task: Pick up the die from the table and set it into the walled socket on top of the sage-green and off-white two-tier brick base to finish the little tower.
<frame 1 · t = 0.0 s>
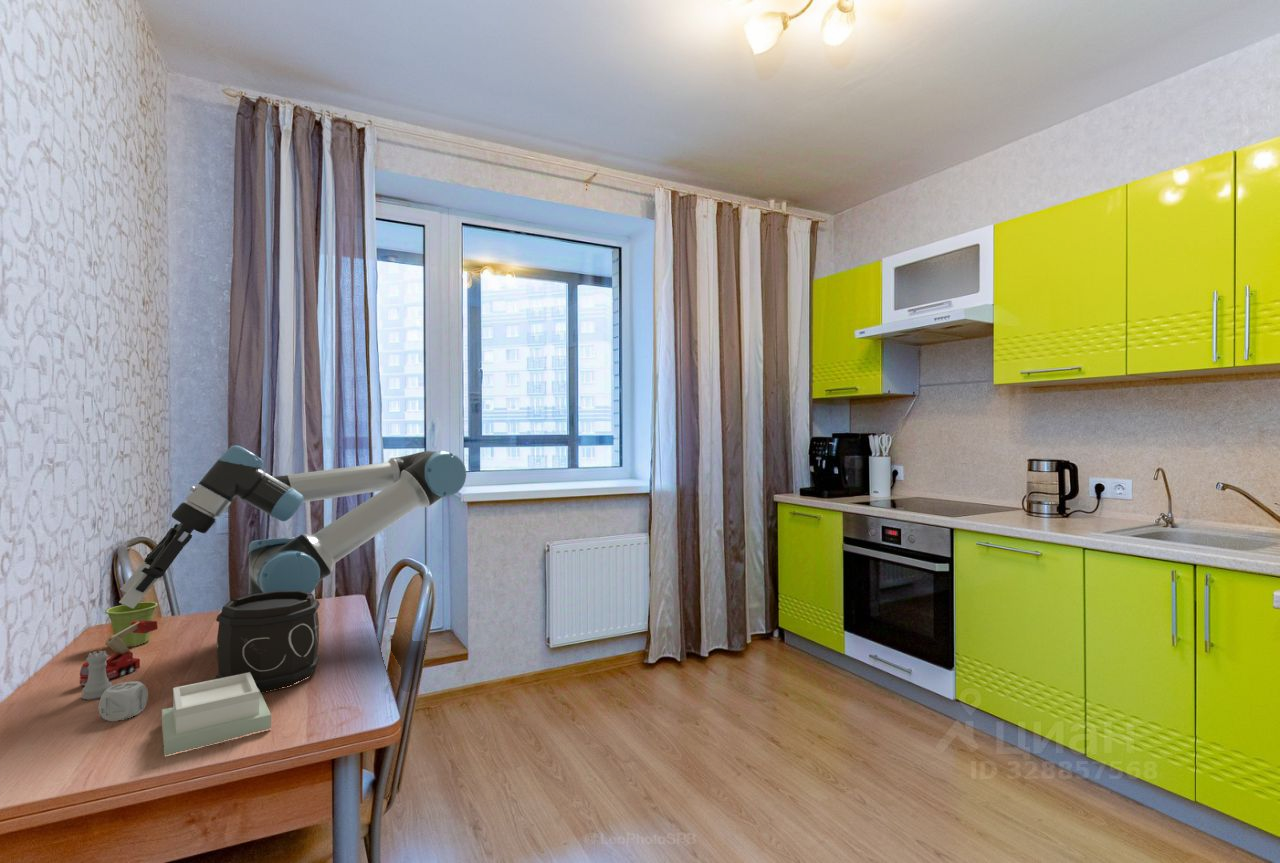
hand: (126, 598, 129), 15 cm above the table, tool tilted 35°, fingers open, 13 cm apart
die: (123, 716, 109), on the table
black bucket: (272, 678, 126), on the table
rook chess piece: (97, 696, 118), on the table
toy fire truck: (119, 675, 128), on the table
tower base: (215, 730, 104), on the table
plant pot: (132, 645, 148), on the table
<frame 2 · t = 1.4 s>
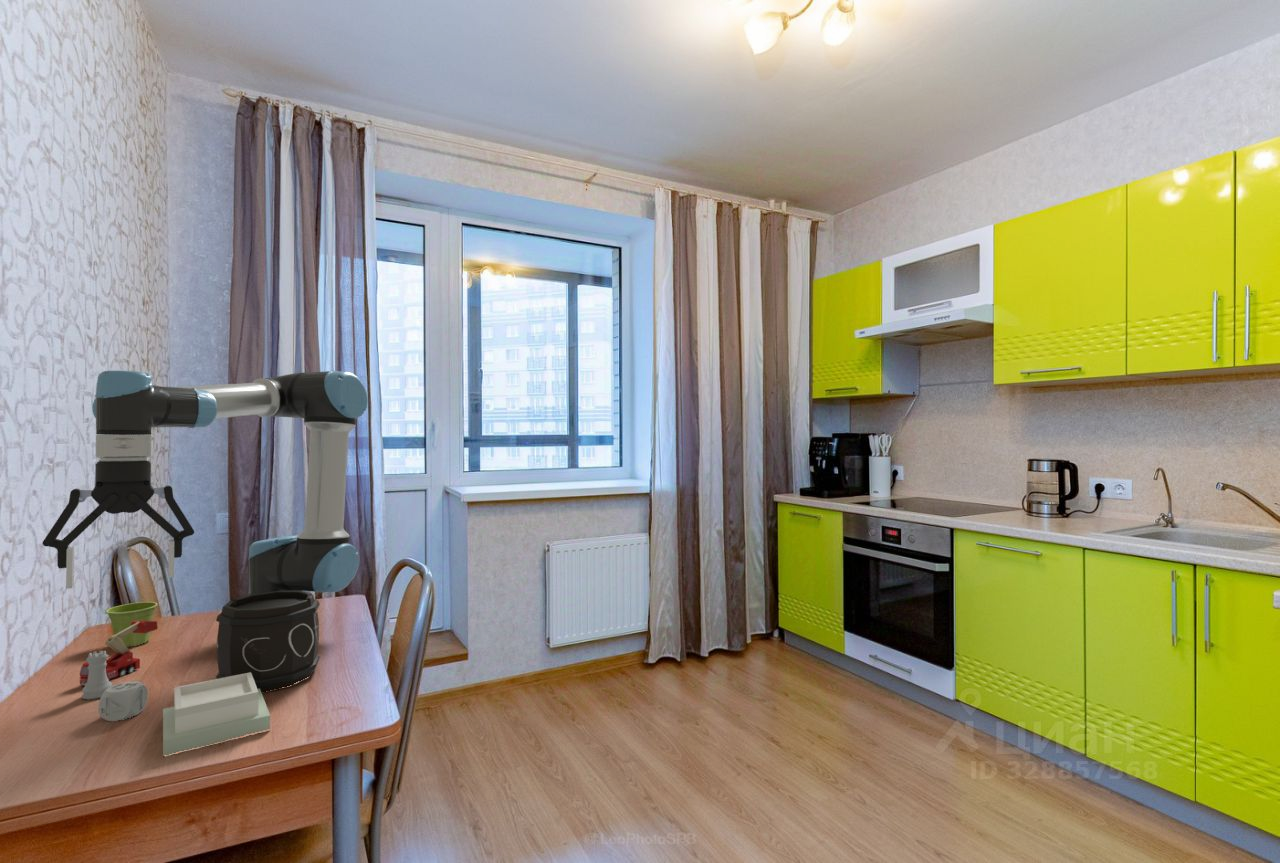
hand: (122, 581, 110), 23 cm above the table, tool pointing down, fingers open, 13 cm apart
nothing on the table moved.
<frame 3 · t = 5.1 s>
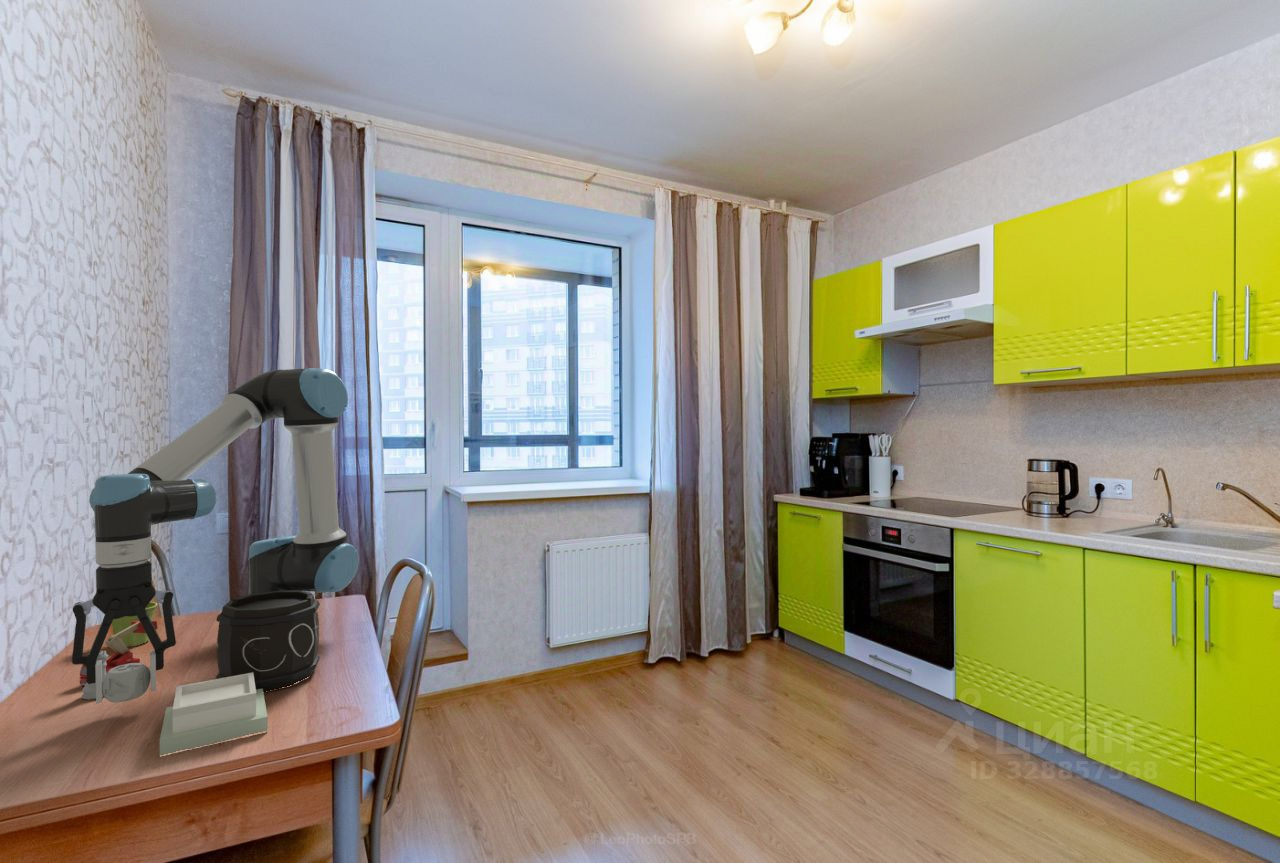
hand: (127, 694, 110), 3 cm above the table, tool pointing down, fingers closed on die, 7 cm apart
die: (127, 697, 110), point 3 cm above the table, touching gripper
everything else where it was.
when the fingers open (7 cm above the table, at t = 10.5 s): die drops 2 cm, resting on tower base.
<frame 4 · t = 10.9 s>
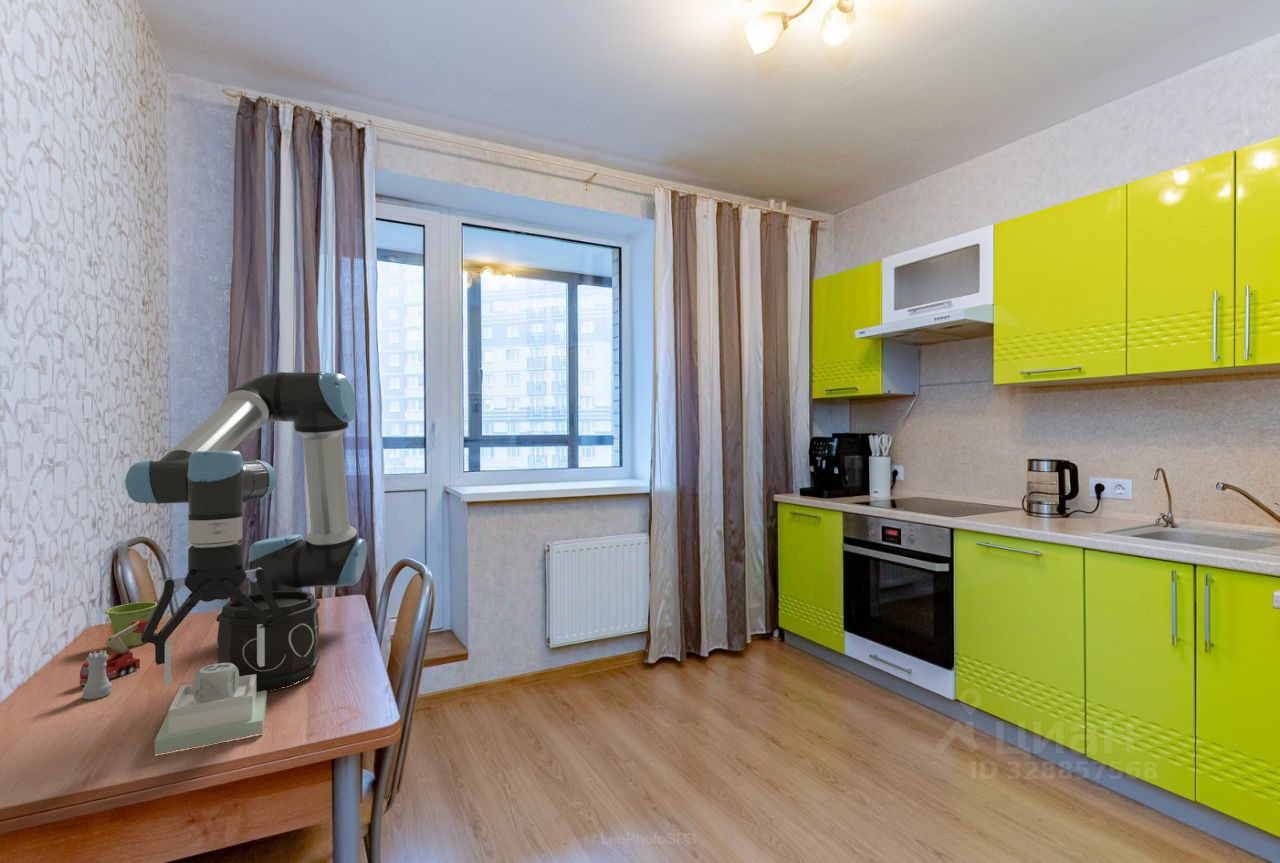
hand: (215, 673, 105), 9 cm above the table, tool pointing down, fingers open, 12 cm apart
die: (216, 699, 104), point 5 cm above the table, touching tower base
tower base: (215, 731, 104), on the table, touching die
everything else where it was.
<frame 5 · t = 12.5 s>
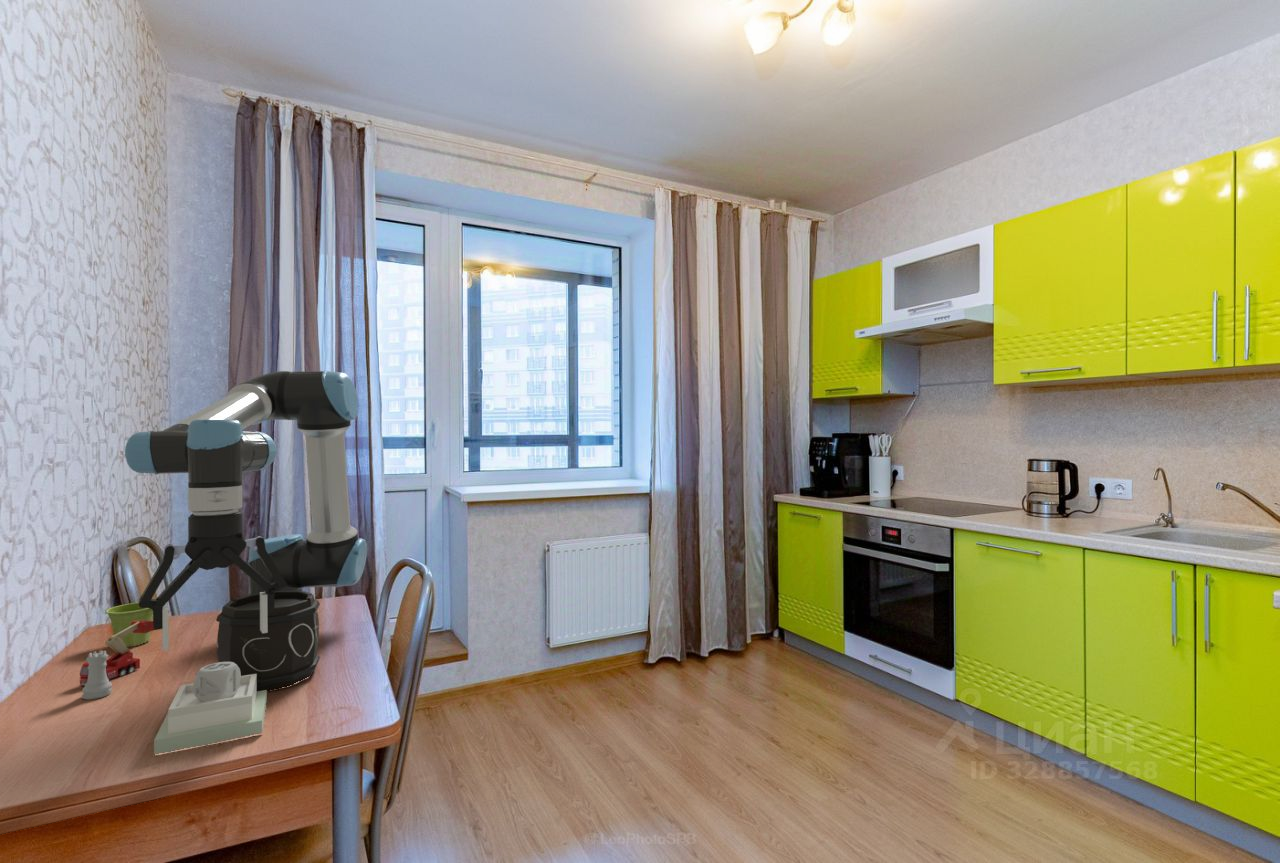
hand: (216, 639, 105), 14 cm above the table, tool pointing down, fingers open, 13 cm apart
nothing on the table moved.
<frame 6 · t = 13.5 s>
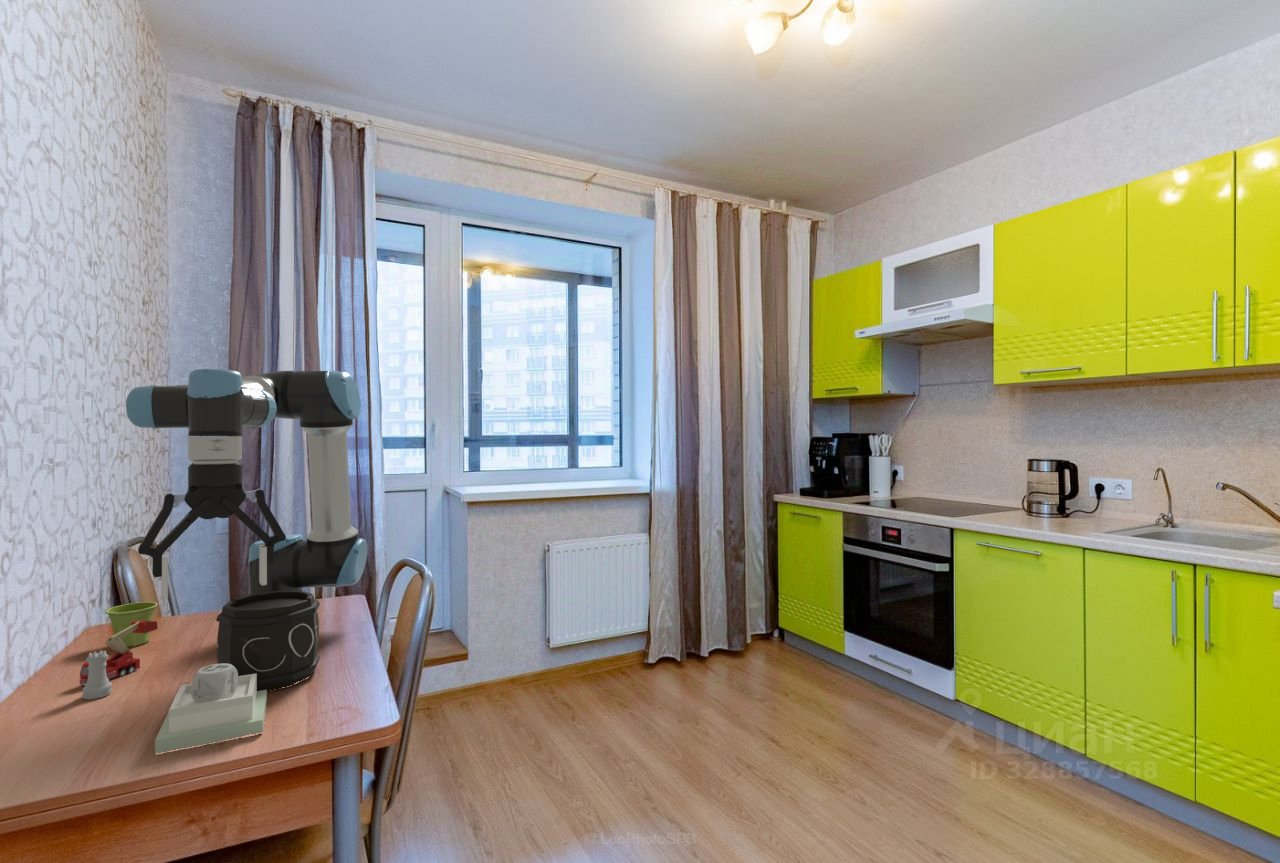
hand: (215, 590, 105), 23 cm above the table, tool pointing down, fingers open, 13 cm apart
die: (214, 699, 104), point 5 cm above the table
tower base: (215, 730, 105), on the table
everything else where it was.
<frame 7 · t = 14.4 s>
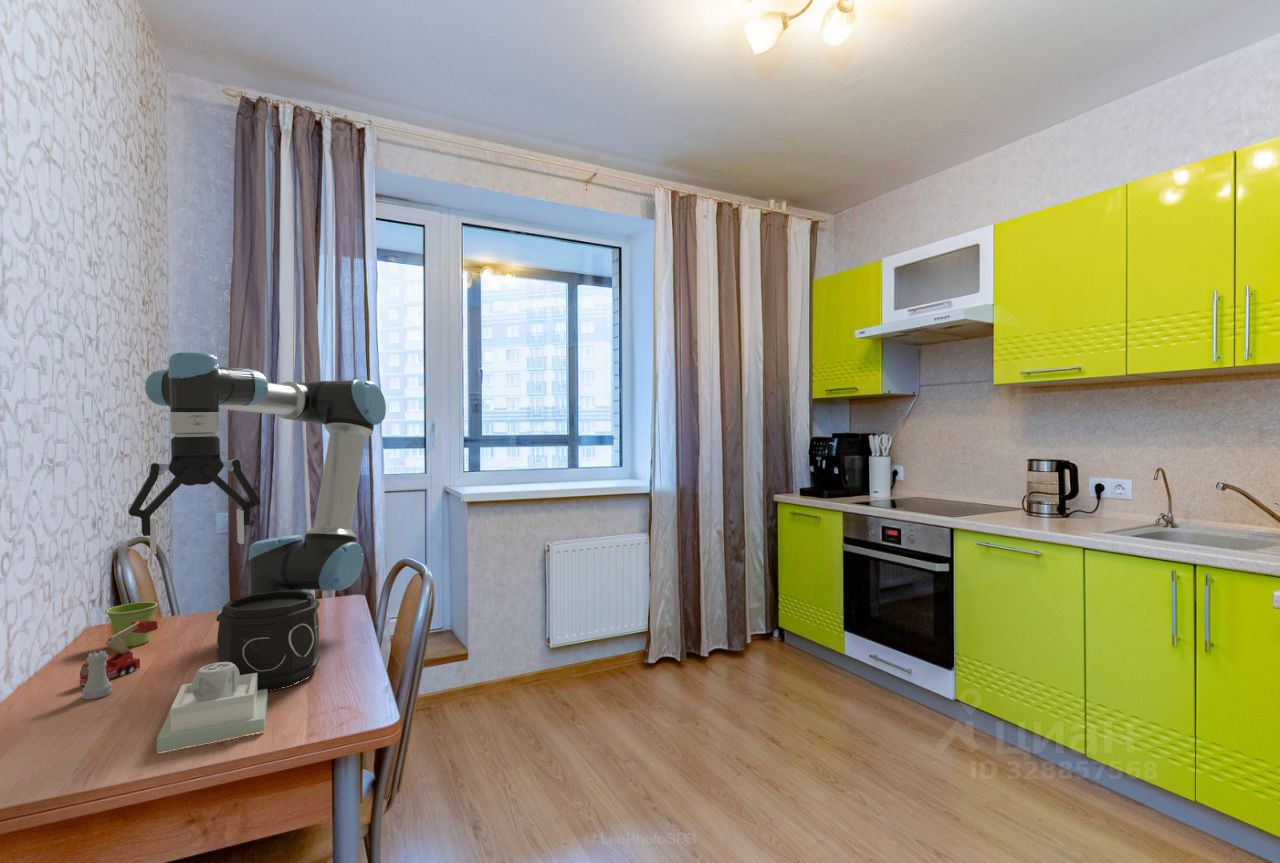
hand: (198, 548, 119), 27 cm above the table, tool pointing down, fingers open, 13 cm apart
die: (216, 698, 105), point 5 cm above the table, touching tower base
tower base: (217, 729, 105), on the table, touching die
everything else where it was.
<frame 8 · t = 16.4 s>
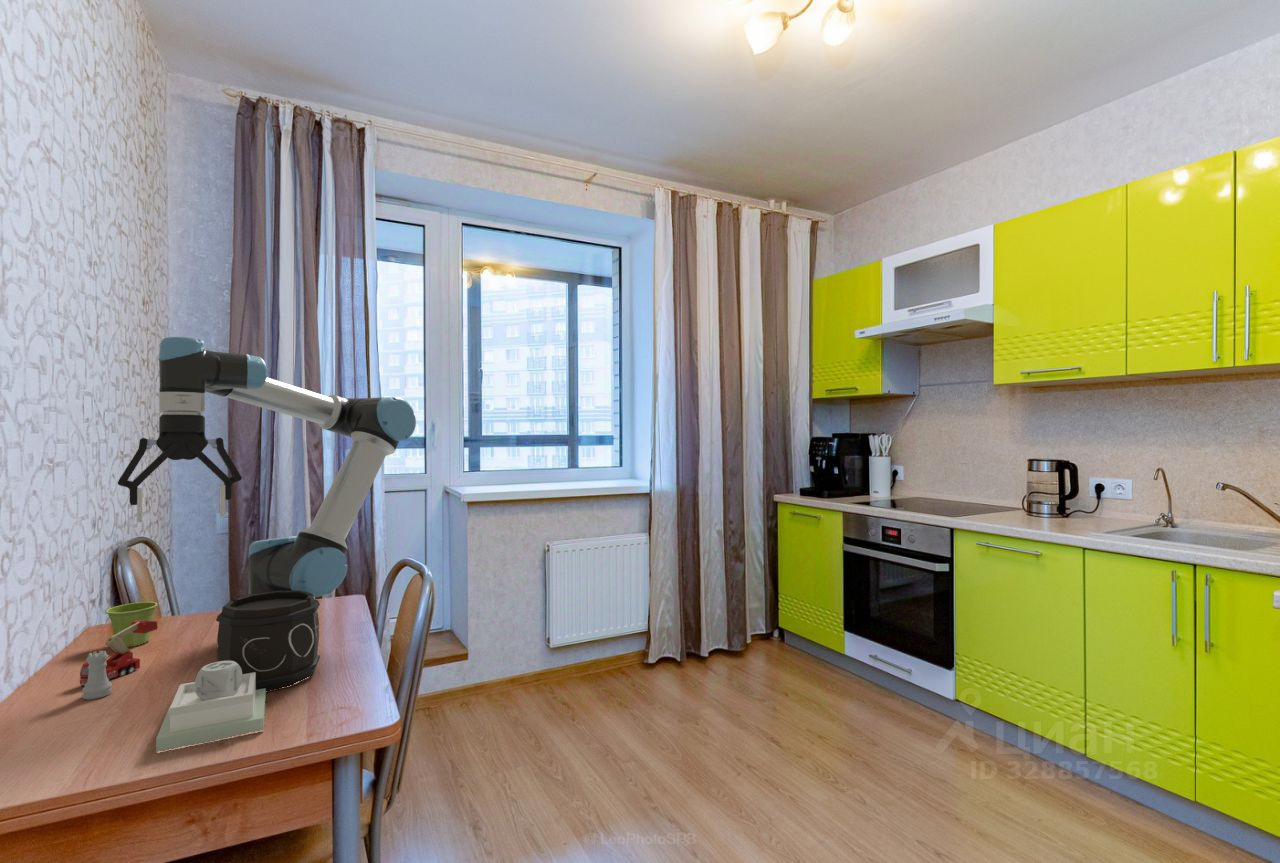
hand: (182, 518, 128), 32 cm above the table, tool pointing down, fingers open, 13 cm apart
nothing on the table moved.
at the end: die 0.4 cm off-centre on the tower base, point 5.3 cm above the tower base's base; die touching tower base; tower base moved 1.3 cm from its start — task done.
